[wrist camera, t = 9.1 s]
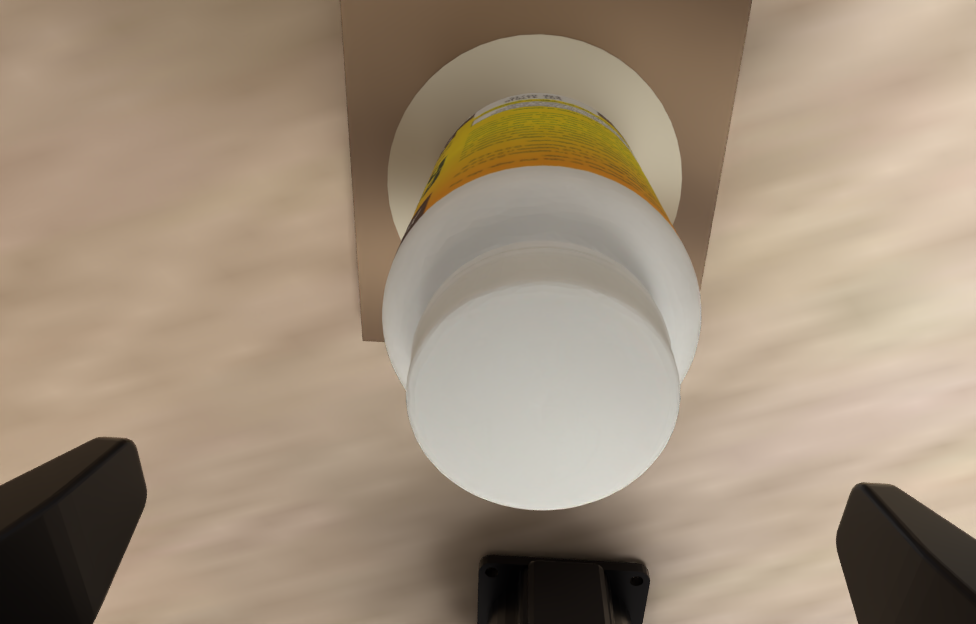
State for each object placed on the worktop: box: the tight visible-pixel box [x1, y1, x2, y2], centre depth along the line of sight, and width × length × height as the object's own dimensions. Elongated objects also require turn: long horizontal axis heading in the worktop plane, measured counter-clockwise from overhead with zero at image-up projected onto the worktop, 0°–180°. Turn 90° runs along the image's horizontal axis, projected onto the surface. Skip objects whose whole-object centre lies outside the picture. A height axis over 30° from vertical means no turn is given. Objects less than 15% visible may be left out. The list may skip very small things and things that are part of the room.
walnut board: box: [340, 0, 752, 342], centre depth 20 cm, size 10×10×1 cm
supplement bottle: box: [382, 93, 701, 510], centre depth 14 cm, size 6×6×10 cm
